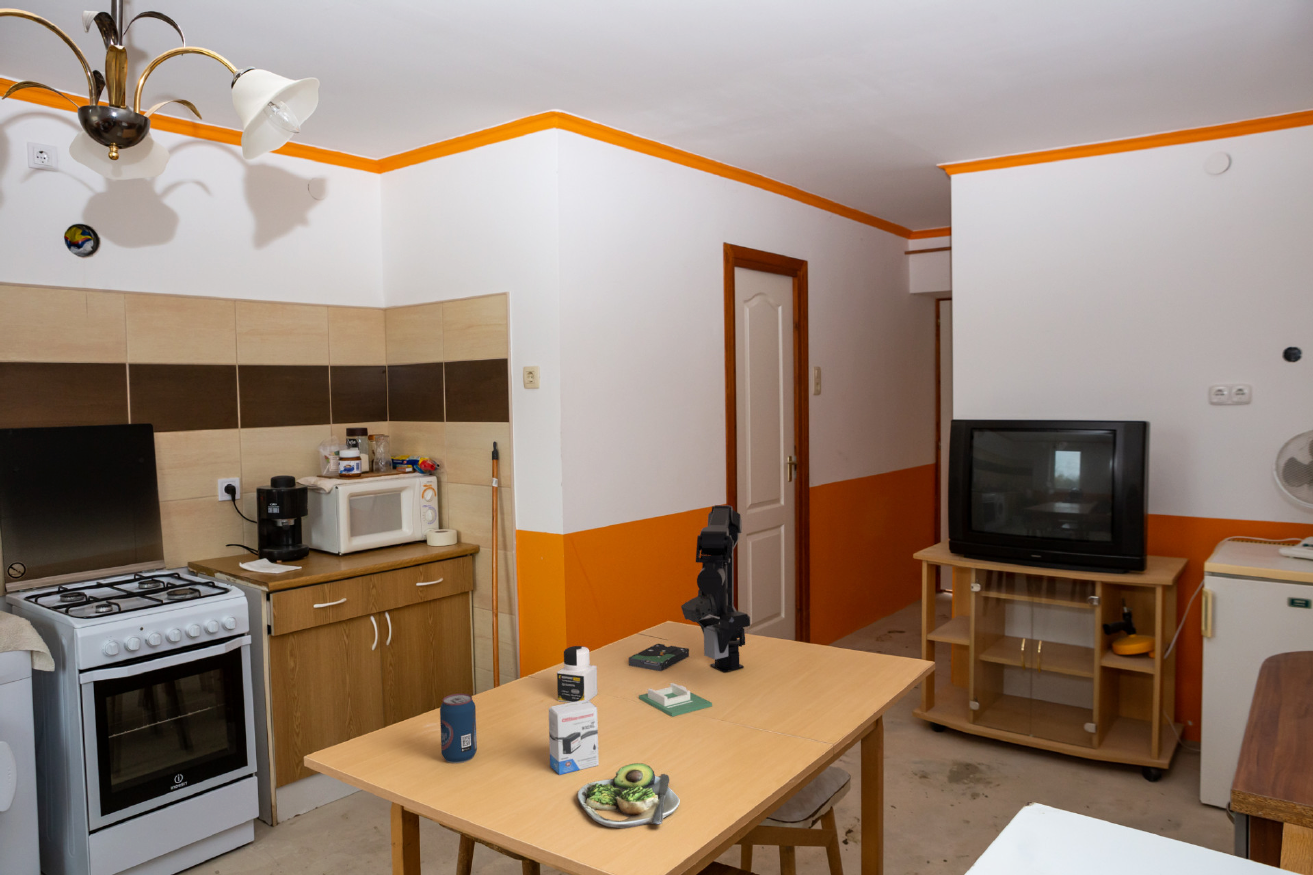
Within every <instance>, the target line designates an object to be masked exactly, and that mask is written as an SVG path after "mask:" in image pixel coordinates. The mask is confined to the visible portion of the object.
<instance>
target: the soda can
mask: <svg viewBox="0 0 1313 875" xmlns="http://www.w3.org/2000/svg"><path fill="white" fill-rule="evenodd" d="M476 709H477V708H476V704H475V702H474V700H473V696H472V695H471V694H468V693H453V694H449V695H447V696H445V697H444V698H442V703H441V705H440V707H439V718H440V719H439V720H440V723H439V724H440V746H441V747H440V749H441V755H442V757H443V759H444V760H445V761H446V762H447V763H449V764H462V763H466V762H469V761H472V759H473V758H474V757H475V754H476V753H477V750H478V744H477V743H478V742H477V741H478V740H477V738H478V737H477V715H476V714H477V713H476V711H477V710H476Z"/></svg>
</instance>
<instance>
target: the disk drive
mask: <svg viewBox="0 0 1313 875" xmlns="http://www.w3.org/2000/svg"><path fill="white" fill-rule="evenodd" d="M688 657H690V648H689V647H681V646H676V645H675V646H674V645H670V646H666V645H665V644H663V643H656V644H654V645H652V646H650V647H647V648H646V649H643V650H641V651H639V652H637V653H635V654H633V655H631V656H629V657H628V666H629V667H635V668H638V669H639V668H640V669H645V670H651V671H657V672H662V671H663V672H664V670H666V669H668V668H670V667H672V666H674V665H676V664H677V663H679V662H681V661H683V660H685V659H687V658H688Z"/></svg>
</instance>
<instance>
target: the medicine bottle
mask: <svg viewBox="0 0 1313 875" xmlns="http://www.w3.org/2000/svg"><path fill="white" fill-rule="evenodd" d="M590 658H591V657H590V650H589V648H588V647H586V646H583V645H582V646H581V645H572V646H569V647H567V648H565V649H564V651H563V667H562V668H561V669H560V670H558V671H557V673H556V685H557V690H556V691H557V701H558V702H562V703H563V702H564V703H572V702H577V701H582V700H589V701H591V700H592V699H593V698H594V697H596V696H597V695H598V667H597V665H593V664H592V665H591V662H590V660H591V659H590Z"/></svg>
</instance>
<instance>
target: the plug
mask: <svg viewBox="0 0 1313 875" xmlns="http://www.w3.org/2000/svg"><path fill="white" fill-rule="evenodd" d="M716 625H718V624H716ZM713 626H714V625H711V626H707V627H706V628H704V634H703V645H704V646H703V651H704V652H703V654H704V655H703V656H705V657H707V658H710V659H712V660H715V659H719V658H724V657H728V645H727V647H726V649H725V652H724V653H720V652H719V645H718V633H717V631H716V630H715V628H714V627H713Z"/></svg>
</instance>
